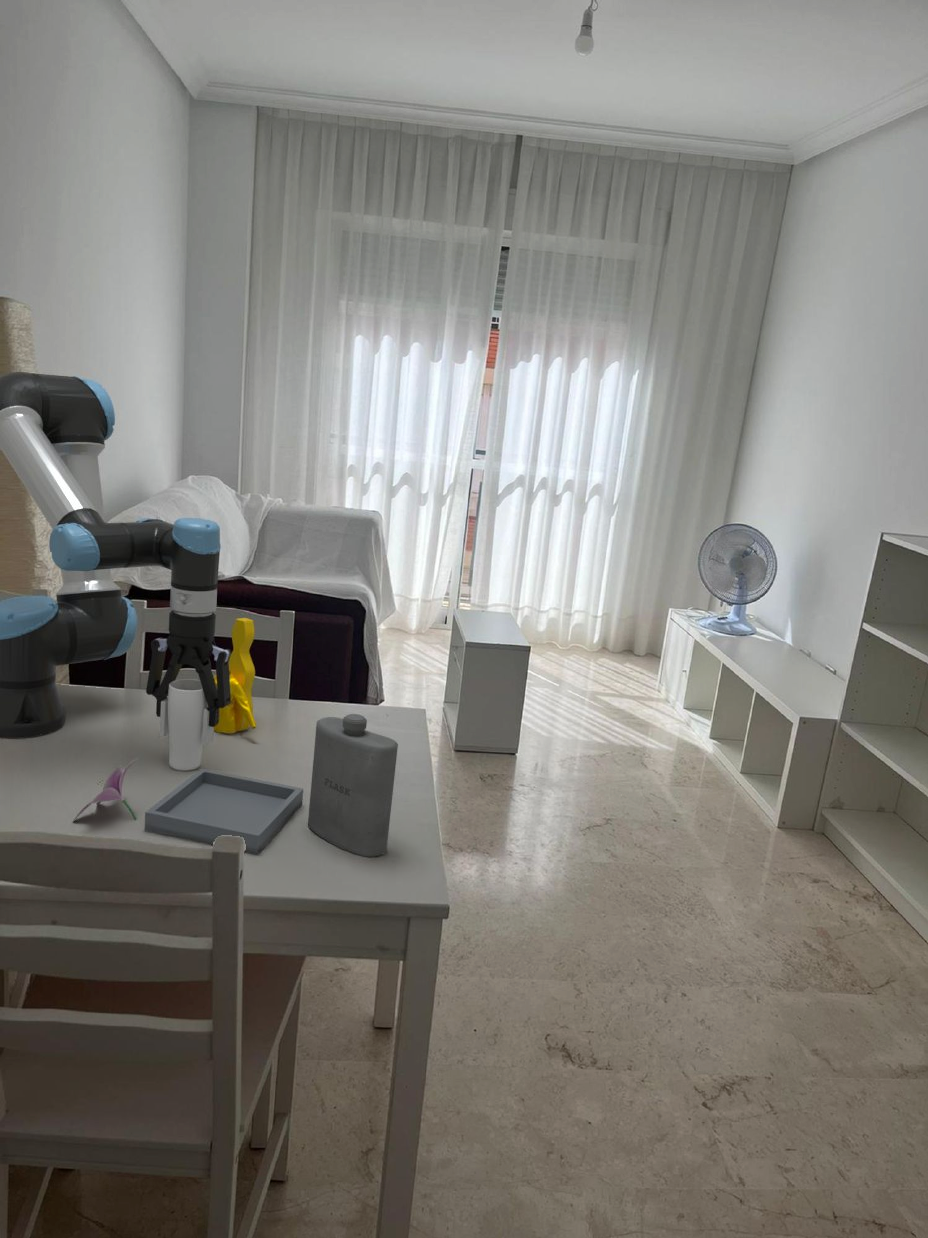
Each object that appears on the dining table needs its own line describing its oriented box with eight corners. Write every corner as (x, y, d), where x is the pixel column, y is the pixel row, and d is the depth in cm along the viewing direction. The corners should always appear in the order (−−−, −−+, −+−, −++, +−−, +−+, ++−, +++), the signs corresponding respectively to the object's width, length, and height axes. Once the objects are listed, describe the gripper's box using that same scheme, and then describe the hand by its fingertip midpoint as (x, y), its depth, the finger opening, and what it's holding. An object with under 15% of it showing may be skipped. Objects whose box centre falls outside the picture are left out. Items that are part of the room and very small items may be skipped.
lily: (137, 800, 149) (108, 750, 146) (180, 797, 142) (150, 744, 139) (77, 846, 140) (45, 793, 137) (119, 845, 133) (86, 789, 130)
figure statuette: (182, 720, 182) (188, 612, 177) (213, 712, 188) (219, 607, 183) (246, 746, 173) (254, 634, 168) (276, 737, 179) (284, 628, 174)
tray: (144, 830, 137) (145, 812, 136) (200, 785, 154) (201, 768, 154) (257, 854, 134) (258, 835, 134) (302, 805, 152) (303, 788, 151)
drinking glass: (193, 776, 157) (197, 693, 154) (157, 769, 158) (160, 686, 155) (211, 762, 164) (216, 682, 160) (176, 755, 165) (180, 676, 162)
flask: (297, 826, 144) (307, 706, 140) (323, 816, 149) (334, 699, 144) (367, 863, 136) (380, 736, 131) (393, 850, 140) (406, 727, 136)
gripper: (126, 606, 153) (121, 735, 158) (239, 625, 150) (230, 756, 155) (149, 598, 160) (144, 722, 165) (258, 616, 157) (249, 742, 162)
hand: (186, 738), depth 160 cm, fingers open, 7 cm apart
